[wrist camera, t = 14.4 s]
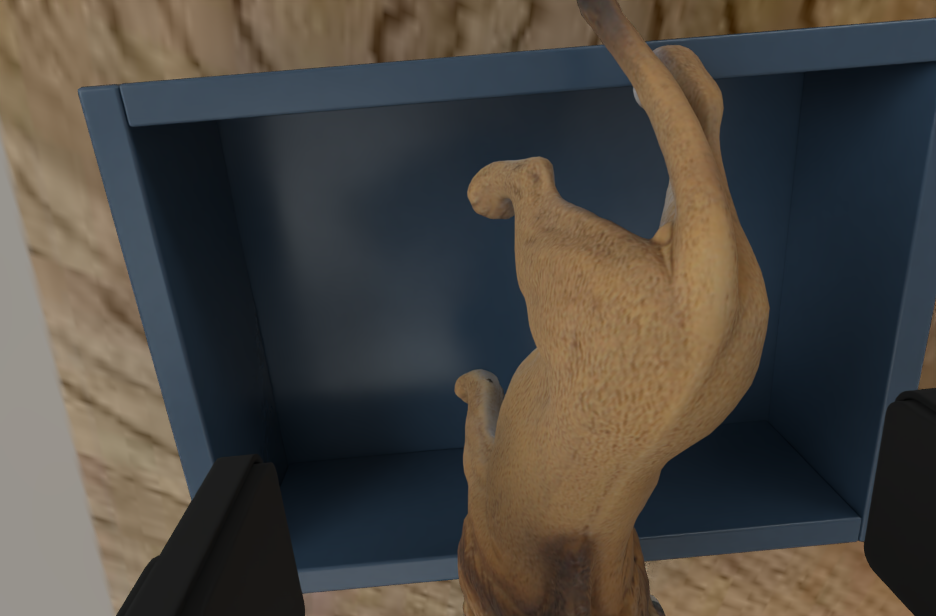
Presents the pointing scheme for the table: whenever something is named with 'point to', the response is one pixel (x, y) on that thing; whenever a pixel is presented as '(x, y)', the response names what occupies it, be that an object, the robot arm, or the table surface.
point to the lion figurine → (606, 357)
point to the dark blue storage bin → (495, 279)
